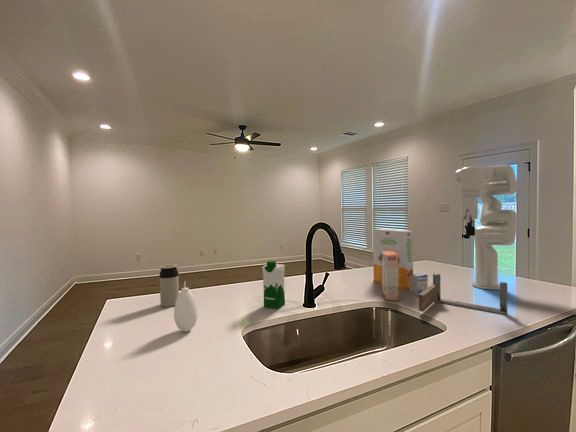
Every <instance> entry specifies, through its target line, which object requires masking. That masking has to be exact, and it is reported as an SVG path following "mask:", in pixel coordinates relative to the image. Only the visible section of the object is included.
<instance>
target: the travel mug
mask: <svg viewBox="0 0 576 432" xmlns="http://www.w3.org/2000/svg"><path fill="white" fill-rule="evenodd" d="M159 268H160V272H159V291H160V292H159V295H160V296H159V297H160V306H161V307H164V308H171V307H170V306H172V307H175V306H174V305H175V303H176V300H177V297H178V295H179V294H180V288H179V287H180V284H179V278H180V277H179V271H178V264H175V263H172V264H171V263H170V264H164V265H160V266H159Z"/></svg>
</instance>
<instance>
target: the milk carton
mask: <svg viewBox="0 0 576 432" xmlns="http://www.w3.org/2000/svg"><path fill="white" fill-rule="evenodd" d="M285 267H286V265H285V264H282V263H281V264H277V262H276V260H270V261H269V260H268V261H266V264H265V265H263V266H261V270H262V277H263V278H262V281H263V285H262V286H263V308H266V307H270V308H269V309H273V308H276V309H275V310H279V309H280V308H281V306H282V305H283V306H284V305H285V304H286V302H285V301H286V297H285V296H286V295H285V270H286V269H285ZM283 306H282V307H283ZM278 308H279V309H278Z"/></svg>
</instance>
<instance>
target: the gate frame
mask: <svg viewBox="0 0 576 432" xmlns="http://www.w3.org/2000/svg"><path fill="white" fill-rule="evenodd" d="M432 284H437V285H438V287H437V300H436V301H435V302H434V303H439V302H441V303H440V304H445V303H447V304H446V305H450V304H453V305H452V306H455V305H458V306H457V307H461V306H464V307H463V308H466V307H470V308H469V309H472V308H475V309H474V310H477V309H479V310H478V311H483V310H484V311H483V312H489V313H495V314H500V315H508V282H505V281H504V282H503V281H502V282H501V281H500V282H499V285H500V289H499V308H497V307H491V306H485V305H480V304H474V303H469V302H462V301H457V300H456V301H455V300H452V299H445V298H441V297H442V296H441V274H440V273H432Z"/></svg>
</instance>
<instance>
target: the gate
mask: <svg viewBox="0 0 576 432" xmlns="http://www.w3.org/2000/svg"><path fill="white" fill-rule="evenodd" d="M437 287H438V285H437V284H433V283H432V284H430V286H429V285H428V288H427V289H425V290H424V291H422V292H421V293H419V294H417V297H418V311H419V312H425V310H427V309H429V307H430V306H431V305H433V303H436V302H435V301H436V300H437Z"/></svg>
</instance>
